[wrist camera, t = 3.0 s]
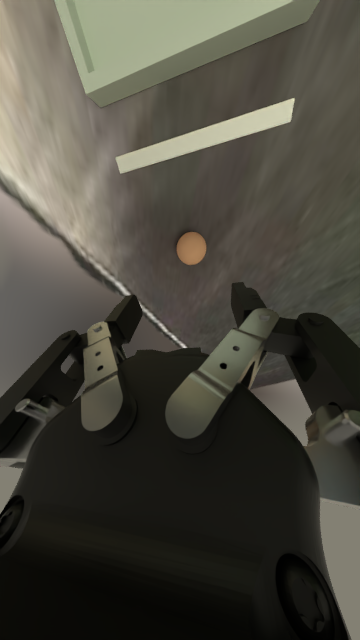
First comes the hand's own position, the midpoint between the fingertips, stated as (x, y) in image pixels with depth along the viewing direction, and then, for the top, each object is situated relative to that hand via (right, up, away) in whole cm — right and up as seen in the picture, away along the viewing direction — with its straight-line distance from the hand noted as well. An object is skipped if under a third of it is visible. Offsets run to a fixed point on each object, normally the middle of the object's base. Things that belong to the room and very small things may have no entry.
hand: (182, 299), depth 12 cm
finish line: (+2, +21, +6) cm, 22 cm away
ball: (+2, +10, +12) cm, 16 cm away
